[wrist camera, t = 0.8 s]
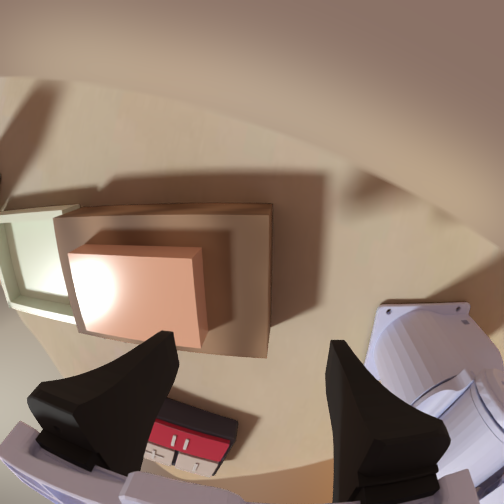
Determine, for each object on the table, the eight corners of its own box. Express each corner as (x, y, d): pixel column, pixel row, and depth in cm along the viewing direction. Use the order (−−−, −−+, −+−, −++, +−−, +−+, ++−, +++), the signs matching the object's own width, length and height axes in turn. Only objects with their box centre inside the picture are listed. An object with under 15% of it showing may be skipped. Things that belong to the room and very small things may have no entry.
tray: (79, 203, 22) (61, 210, 20) (99, 313, 26) (86, 326, 23) (2, 211, 24) (-13, 216, 21) (22, 298, 27) (9, 307, 25)
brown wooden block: (272, 203, 20) (268, 215, 17) (270, 327, 24) (266, 358, 20) (82, 207, 22) (52, 218, 18) (101, 311, 25) (78, 332, 22)
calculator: (213, 481, 29) (102, 443, 28) (217, 456, 33) (113, 421, 32) (236, 444, 25) (95, 396, 24) (240, 414, 29) (111, 371, 28)
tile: (201, 247, 18) (191, 258, 16) (208, 331, 20) (201, 348, 18) (84, 244, 19) (67, 253, 17) (99, 317, 21) (86, 330, 19)
